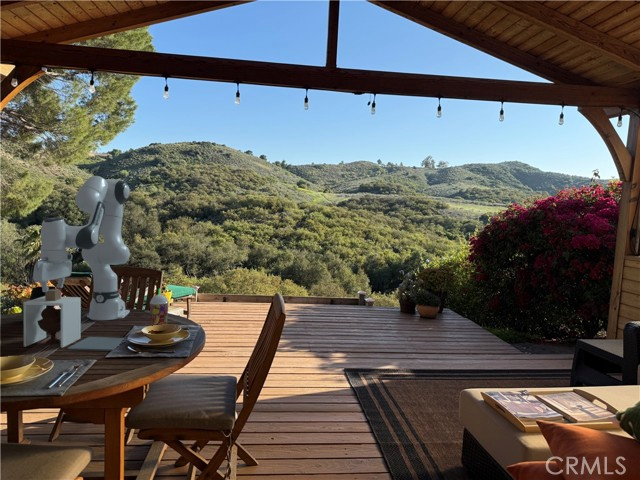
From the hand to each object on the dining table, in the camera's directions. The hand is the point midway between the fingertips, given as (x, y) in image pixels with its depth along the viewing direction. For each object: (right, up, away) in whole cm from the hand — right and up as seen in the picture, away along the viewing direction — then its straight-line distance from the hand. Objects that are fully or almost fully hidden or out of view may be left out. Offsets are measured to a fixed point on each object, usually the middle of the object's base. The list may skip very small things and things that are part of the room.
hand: (52, 289), depth 176 cm
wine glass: (-15, -21, +17) cm, 31 cm away
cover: (-1, -22, +1) cm, 22 cm away
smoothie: (+35, -22, +24) cm, 48 cm away
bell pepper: (-31, -20, +33) cm, 49 cm away
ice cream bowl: (-1, -22, +1) cm, 22 cm away
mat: (+19, -23, 0) cm, 30 cm away
